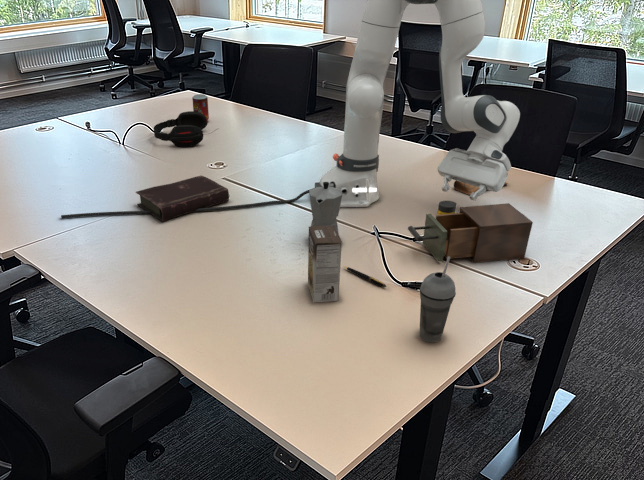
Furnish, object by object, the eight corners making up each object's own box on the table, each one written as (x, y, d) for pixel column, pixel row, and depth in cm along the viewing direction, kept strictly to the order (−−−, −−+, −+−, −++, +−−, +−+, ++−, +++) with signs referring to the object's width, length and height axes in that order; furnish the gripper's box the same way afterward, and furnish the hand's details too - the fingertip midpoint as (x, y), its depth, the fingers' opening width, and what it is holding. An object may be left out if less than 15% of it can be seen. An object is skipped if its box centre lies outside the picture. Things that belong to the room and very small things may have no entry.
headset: (226, 143, 250) (225, 122, 245) (168, 153, 240) (165, 132, 235) (202, 127, 271) (201, 108, 267) (147, 136, 262) (145, 116, 257)
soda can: (191, 123, 277) (189, 96, 270) (198, 119, 282) (196, 93, 276) (204, 124, 274) (202, 97, 268) (211, 120, 280) (210, 94, 273)
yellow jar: (439, 229, 173) (442, 207, 169) (433, 222, 177) (436, 201, 173) (455, 228, 173) (459, 206, 169) (448, 221, 177) (452, 199, 174)
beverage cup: (420, 323, 132) (432, 243, 122) (452, 333, 129) (467, 252, 118) (407, 339, 127) (418, 258, 117) (440, 350, 124) (455, 267, 113)
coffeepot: (333, 254, 161) (336, 192, 152) (301, 249, 165) (301, 188, 155) (347, 231, 174) (350, 172, 164) (316, 227, 177) (318, 169, 167)
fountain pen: (341, 269, 154) (341, 264, 154) (344, 267, 155) (344, 262, 154) (384, 289, 145) (385, 284, 144) (387, 288, 146) (388, 282, 145)
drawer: (417, 263, 154) (421, 233, 149) (402, 244, 163) (406, 215, 159) (485, 257, 156) (491, 227, 151) (467, 239, 165) (472, 210, 160)
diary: (229, 202, 194) (229, 188, 192) (163, 223, 182) (161, 208, 180) (200, 186, 207) (199, 173, 205) (136, 205, 195) (134, 190, 192)
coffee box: (306, 284, 148) (307, 225, 140) (331, 282, 149) (334, 224, 140) (312, 303, 141) (314, 242, 132) (339, 301, 141) (342, 241, 133)
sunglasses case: (472, 195, 193) (467, 175, 192) (456, 199, 199) (451, 180, 198) (509, 183, 200) (504, 164, 200) (493, 188, 206) (488, 169, 206)
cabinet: (473, 263, 155) (480, 226, 150) (454, 241, 166) (459, 207, 160) (524, 258, 156) (533, 222, 151) (501, 237, 167) (509, 203, 161)
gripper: (448, 141, 177) (424, 180, 177) (511, 156, 164) (485, 199, 164) (454, 152, 182) (431, 190, 182) (516, 168, 169) (491, 209, 169)
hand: (457, 194), depth 173 cm, fingers open, 8 cm apart
